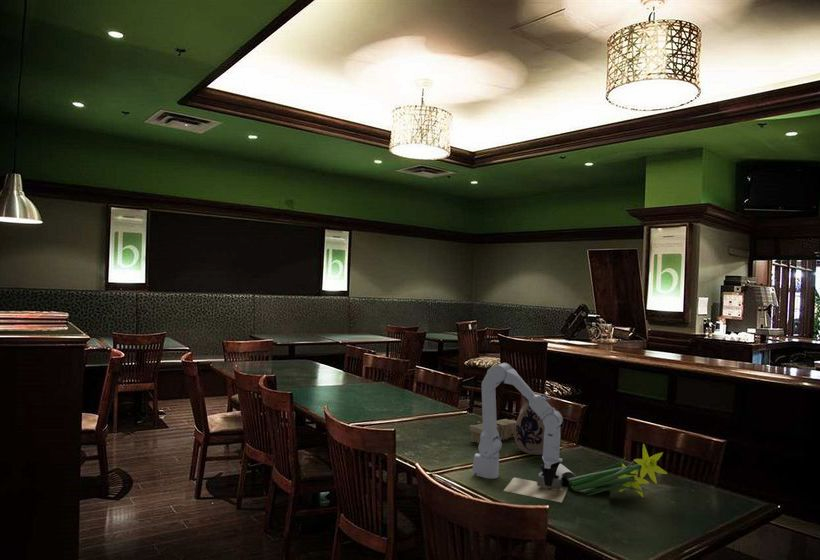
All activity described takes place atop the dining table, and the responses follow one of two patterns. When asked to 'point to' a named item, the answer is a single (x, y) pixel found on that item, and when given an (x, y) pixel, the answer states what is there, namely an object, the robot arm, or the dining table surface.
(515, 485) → the birch board
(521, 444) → the ceramic pitcher
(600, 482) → the daffodil flowers
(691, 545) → the dining table surface
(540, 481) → the dark grey open box
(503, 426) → the tan block
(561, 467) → the mug
